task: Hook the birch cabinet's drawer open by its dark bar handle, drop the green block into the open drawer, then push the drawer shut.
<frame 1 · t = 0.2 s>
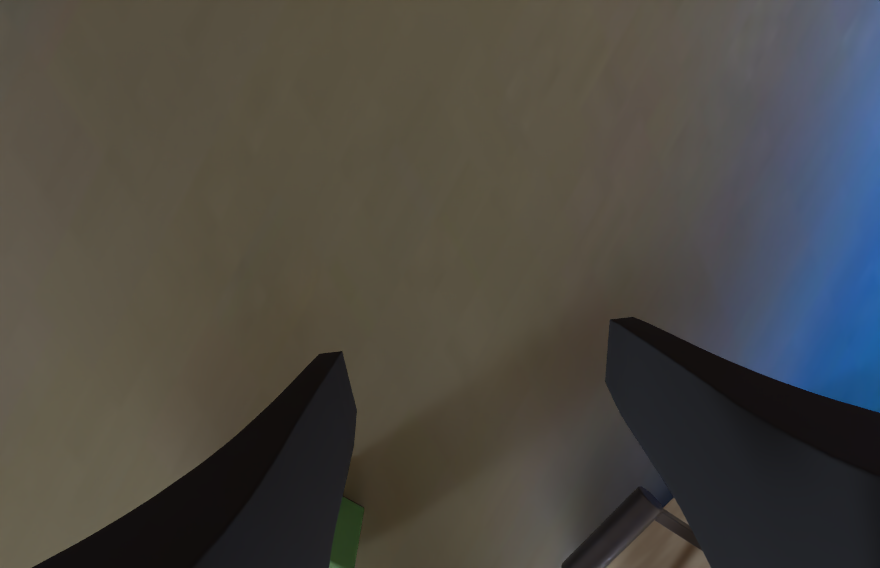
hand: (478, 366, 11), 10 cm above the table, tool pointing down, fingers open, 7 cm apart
green block: (309, 533, 25), on the table
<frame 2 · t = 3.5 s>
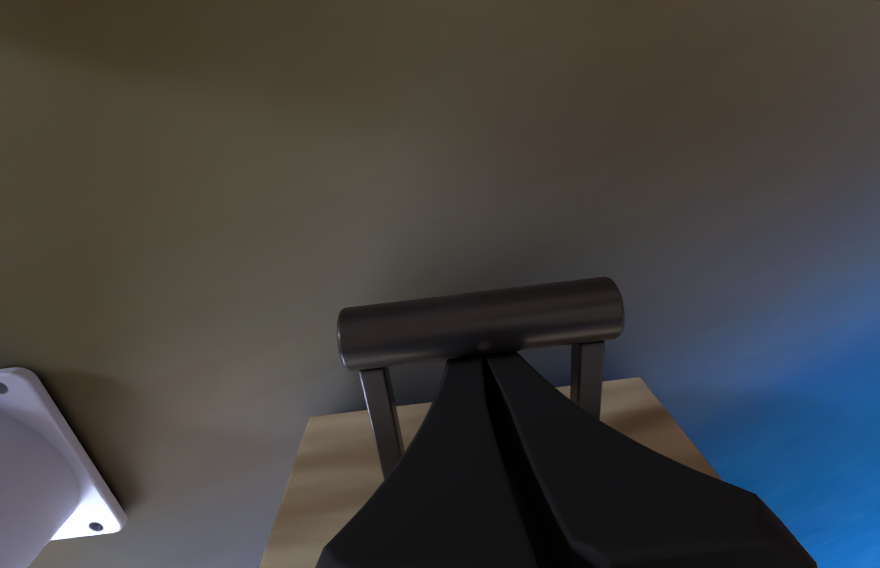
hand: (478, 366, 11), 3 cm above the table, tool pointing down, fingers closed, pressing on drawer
drawer: (496, 564, 13), point 4 cm above the table, slide at 1.1 cm, touching gripper
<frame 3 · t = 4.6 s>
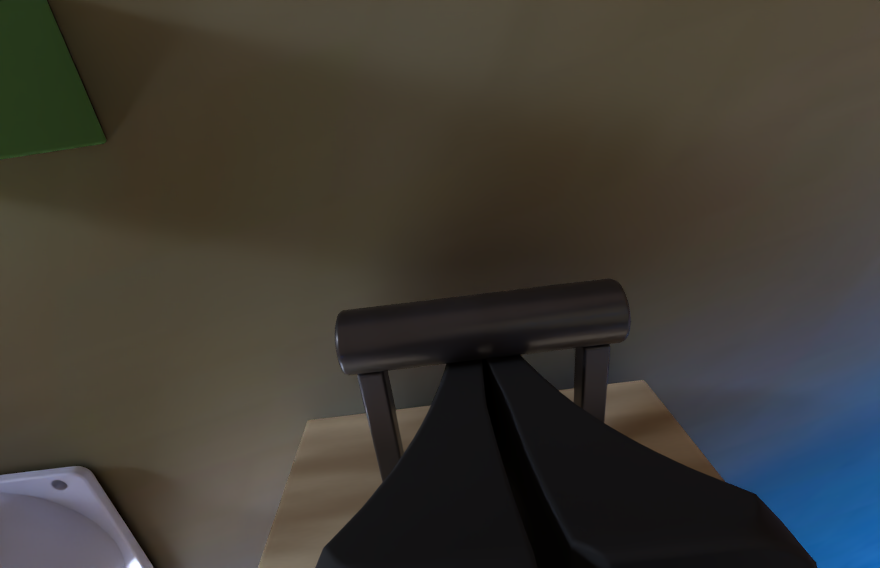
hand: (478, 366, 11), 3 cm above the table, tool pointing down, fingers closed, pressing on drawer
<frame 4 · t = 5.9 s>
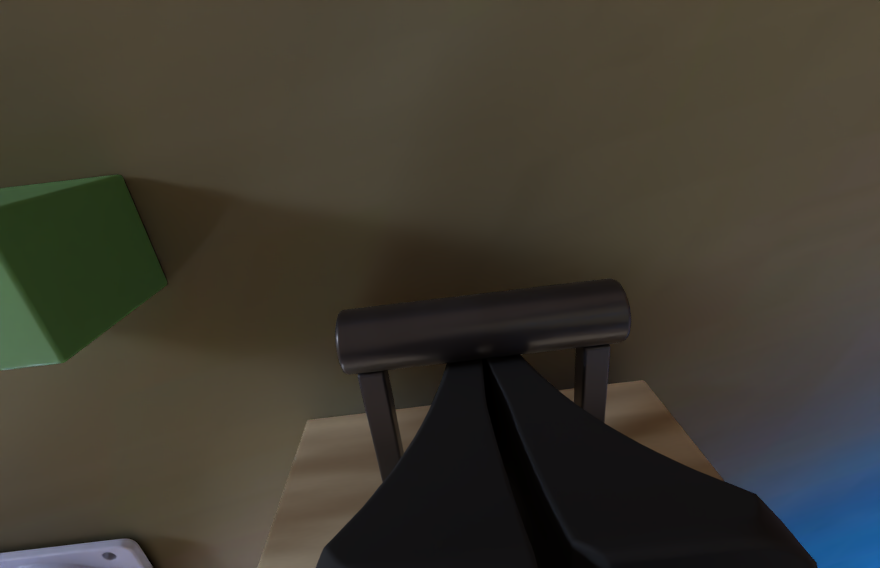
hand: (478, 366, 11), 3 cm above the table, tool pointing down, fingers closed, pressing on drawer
green block: (29, 246, 12), on the table
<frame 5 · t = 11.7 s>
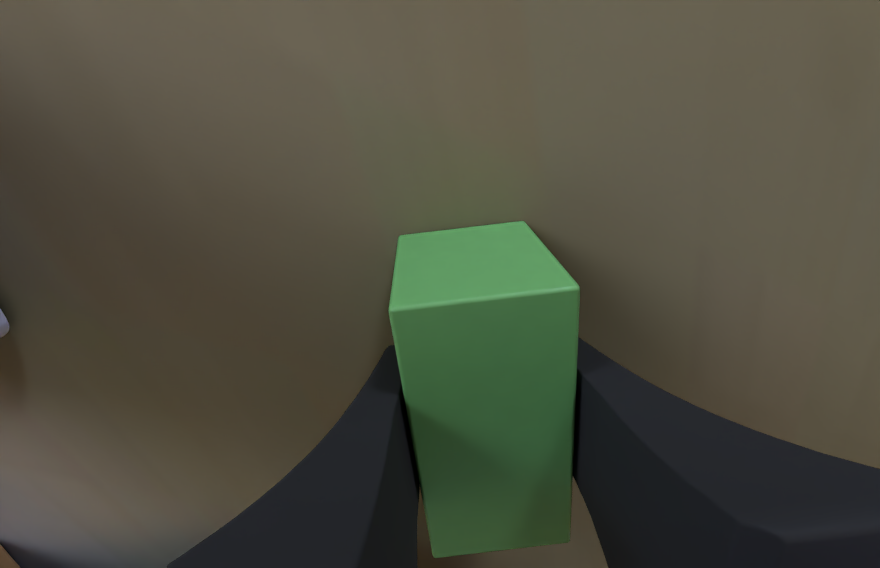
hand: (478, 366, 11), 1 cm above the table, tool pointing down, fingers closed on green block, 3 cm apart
green block: (471, 338, 12), on the table, touching gripper
when the fingers open (3 cm above the table, at t = 16.7 s): green block stays where it is, resting on drawer.
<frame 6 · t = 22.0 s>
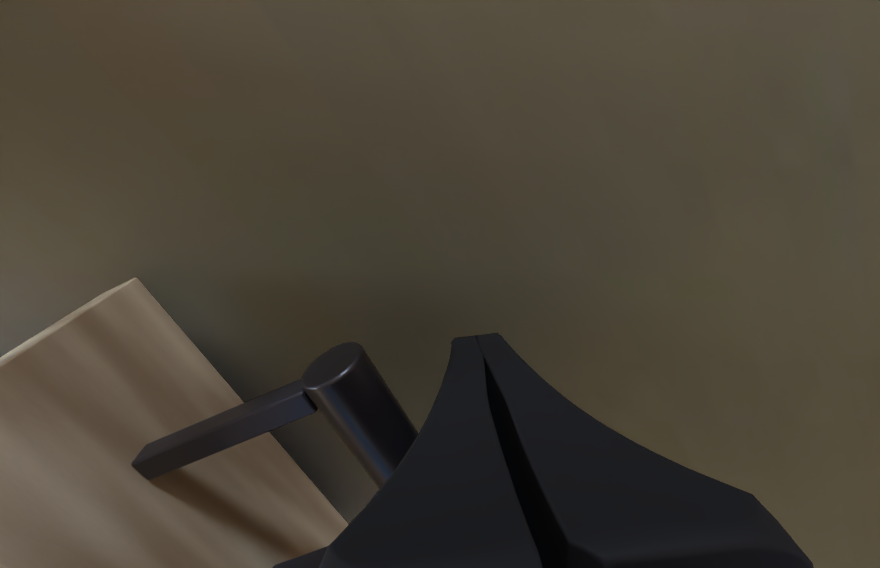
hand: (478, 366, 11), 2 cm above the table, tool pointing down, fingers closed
drawer: (88, 565, 11), point 4 cm above the table, slide at 9.2 cm, touching gripper, green block
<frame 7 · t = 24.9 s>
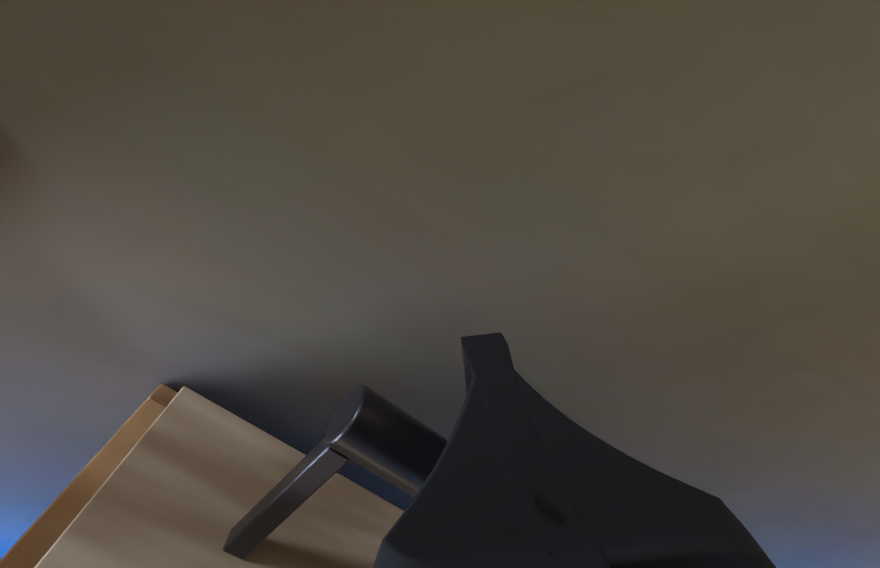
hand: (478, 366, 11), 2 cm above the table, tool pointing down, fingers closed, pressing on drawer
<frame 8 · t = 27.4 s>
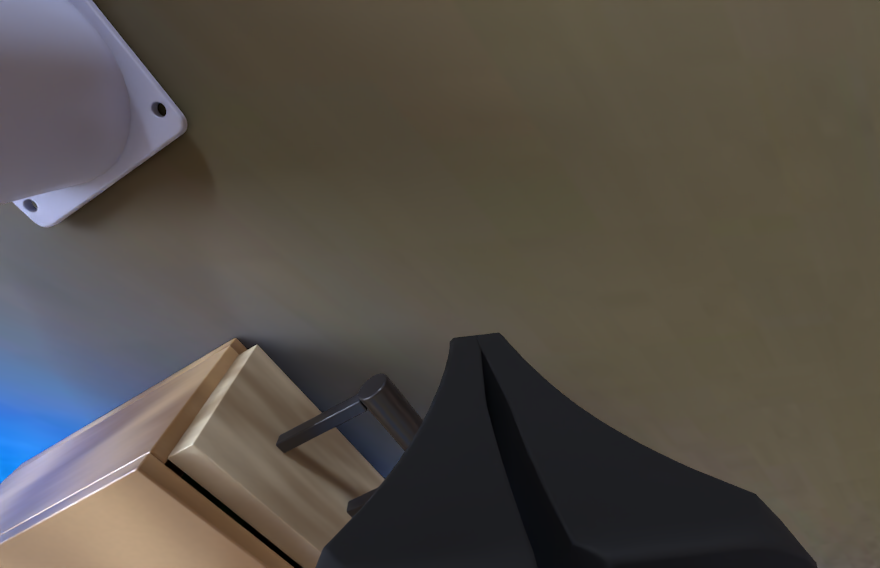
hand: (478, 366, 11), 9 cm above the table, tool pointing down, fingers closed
green block: (230, 488, 22), point 2 cm above the table, touching drawer
cabinet: (210, 476, 24), on the table
drawer: (245, 508, 20), point 4 cm above the table, slide at 0.0 cm, touching green block
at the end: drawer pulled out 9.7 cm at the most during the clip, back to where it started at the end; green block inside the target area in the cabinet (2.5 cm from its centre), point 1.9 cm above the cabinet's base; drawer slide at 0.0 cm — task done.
